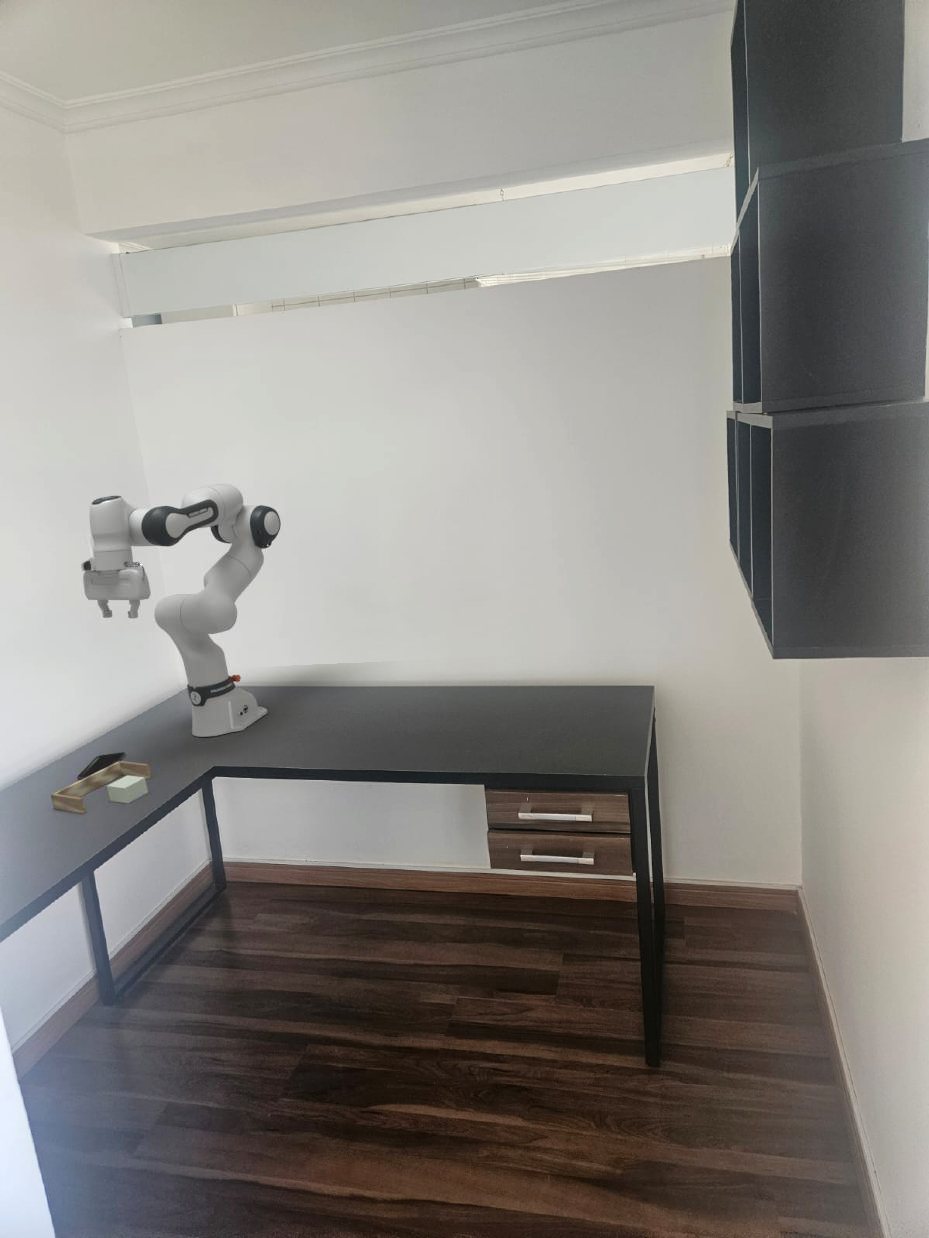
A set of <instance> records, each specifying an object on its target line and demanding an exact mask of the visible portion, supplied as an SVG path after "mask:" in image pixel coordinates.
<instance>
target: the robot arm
mask: <svg viewBox="0 0 929 1238" xmlns="http://www.w3.org/2000/svg"><path fill="white" fill-rule="evenodd" d="M89 525H90V535H91V537H92V540H93V550H92V552H93V553H92V554H93V556H91V557H90V558H88V559H86V560H85V561H83V562H82V563H81V564H80V565H81V571H82V572H84V573H83V575H82V576H83V577H82V580H83V590H84V595H85V597H86V599H88V600H89V601H97V606H98V608H99V609H100V610H101V612H102V613H101V614H102V618H103V619H104V618H105V619H109V618H112V617H113V610H112V609H110V608H109V605H108V604H109V601H128V603H129V605H130V609H129V611H127V618H128V619H137V618H138V617H139V612H138V611H139V609H140V606H141V601H143V600H144V601H145V600H148V599H150V597H151V595H152V594H151V588H150V587H151V586H150V582H149V578H148V574H147V572H146V570H145V566H143V565H142V564H141V562H139V561H134V559H133V550H132V549H133V548H132V547H157V546H158V547H167V548H168V547H172V546H175V545H177V544H178V543H179V542H180V541H181V540H182V539H183V538H184V537H185V536H186V535H187V534H188V533H190V532H192V531H195V530H197V529H205V528H210V531H211V533H212V536H213V537H214V538H215V540H217V542H220V543H224V544H231V545H230V547H229V549H228V551H227V552H225V554H223V556H221V557H220V558H219V560H217V561H216V562H215V564H214V565H212V566H211V568H210V569H209V570H208V571H207V572H206V573H205V574H204V576H203V587H204V588H203V590H201V591H199V592H196V593H176V594H172V595H169V596H166V597H164V598H161V599H160V600H158V602H157V603H156V605H155V608H154V620H155V622H156V624H157V626H158V627H159V628H160V629H161V630H162V631H164V632H165V633H166V634H167V635H168V636H169V637H170V638H171V640H172V641H173V643H174V645H175V647H176V649H177V651H178V652H179V654H180V657H181V659H182V662H183V666H184V671H185V676H186V679H187V685H186V687H187V693H188V697H189V699H190V704H191V714H192V715H191V720H192V722H191V723H192V724H191V726H192V728H191V734H192V736H195V737H200V738H204V737H207V738H208V737H217V736H221V735H225V734H229V733H233V732H241V731H244V730H245V729H246V728H247V727H249V726H250V725H252V724H254V723H255V722H256V721H258V720H259V719H261V718H262V717H263V716H265V715H266V714H268V710H267V708H265V707H262V706H258V705H259V704H258V702H257V699H256V697H255V696H254V694H253V693H251V692H249V691H246V690H244V689H242V688H240V687H237V686H236V683H239V682H240V681H241V679H242V678H241V675H240V674H232V675H229V672H228V665H227V661H226V660H227V659H226V655H225V652H224V650H223V648H222V647H221V646H220V645H218V644H217V643H216V642H215V641H214V640H213V639H212V638H211V636H210V635H214V634H219V633H224V632H226V631H230V630H231V629H233V628H234V626H235V624H236V623H237V618H238V608H237V605H236V601H237V600H238V598H239V597H240V596H241V595H242V594H243V592H244V591H245V590H246V589H247V588H248V587H249V585H250V584H251V583H252V582H253V581H254V579H255V578H256V576H257V575H259V572H260V571H261V569H262V567H263V565H264V563H265V556H264V554H263V549H264V550H265V549H268V548H269V547H271V546H272V543H273V541H275V539H276V538H277V536H278V535H279V533H280V530H281V519H280V515H279V513H278V511H277V510H276V509H275V508H273V507H271V506H267V505H244V497H243V495H242V493H241V491H240V489H239V488H237V487H236V486H235V485H232V484H228V483H221V484H220V483H219V484H218V483H217V484H211V485H206V486H202V487H199V488H196V489H193V490H191V491H189V492H188V493H186V494H184V496H183V497H182V500H181V505H180V508H178V507H174V506H172V505H171V506H170V505H161V506H156V507H143V508H142V507H141V508H140V507H138V506H134V505H133V504H130V503H128V502H127V501H126V500H124V498H123V496H121V495H109V496H103V497H99V498H96V499H94V500H93V501H92V502H91V503H90V508H89Z"/></svg>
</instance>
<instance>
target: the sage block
mask: <svg viewBox="0 0 929 1238" xmlns="http://www.w3.org/2000/svg"><path fill="white" fill-rule="evenodd" d="M106 788H107V792H108V797H109V800H110V801H109V802H114V803H115V802H116V803H121V804H130V803H132V802H134V801H136V800H137V799H138V798H139V799H140V797H143V796H145V795H146V794H148V793H149V790H148V787H147V781H146V778H144V777H136V776H129V775H127V776H123V777H122V778H119V779H117V780H115V781H114V782H111V783H110V784H107V785H106Z"/></svg>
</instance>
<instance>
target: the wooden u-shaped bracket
mask: <svg viewBox="0 0 929 1238" xmlns="http://www.w3.org/2000/svg"><path fill="white" fill-rule="evenodd" d="M127 775H129V776H136V777H144V778H145V780H146V779H147V780H149V779H151V778H152V775H151V771H150V766H149V764H148V763H142V762H141V763H140V762H132V761H126V760H125V761H124V760H122V761H119V762H116V763H114V764H112V765H110V766H108V767H106V768H104V769H102V770H100V771H98V772H96V773H94V774H92V775H90V776H88V777H86V778H84V779H82V780H78V781H76V782H74V783H71V784H70V785H68V786H66V787H64V788H61V789H60V790H58V791H55V792H54V793H52V794H50V798H51V801H52V806H53V809H54V810H55V809H56V810H60V811H66V812H73V813H76V814H77V813H78V814H85V813H87V811H86V804H85V802H84V798H83V796H85V795H86V794H88V793H90V792H92V791H94V790H97V789H99V788H100V787H102V786H104V785H107V784H108V783H110V782H111V781H114V780H116V779H117V778H120V777H122V776H123V777H125V776H127Z"/></svg>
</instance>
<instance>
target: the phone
mask: <svg viewBox="0 0 929 1238" xmlns="http://www.w3.org/2000/svg"><path fill="white" fill-rule="evenodd" d="M125 757H126V752H124V751H123V752H116V753H108V754H101V755H97V756H96V757H94V758H93V760H92V761H90V763H89V764H88V765H87V766H86V767H85V768H84V769H83V770H82V772H80V773H79V774H78V775H77V777H76V778H77V780H78V781H80V780H82V779H84V778H86V777H88V776H90V775H92V774H94V773H96V772H98V771H100V770H102V769H104V768H106V767H108V766H110V765H112V764H114V763H116V762H119V761H124V760H123V759H124V758H125Z"/></svg>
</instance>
